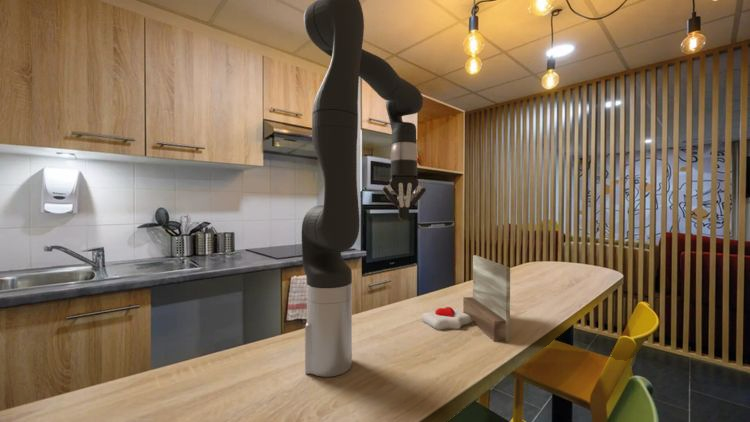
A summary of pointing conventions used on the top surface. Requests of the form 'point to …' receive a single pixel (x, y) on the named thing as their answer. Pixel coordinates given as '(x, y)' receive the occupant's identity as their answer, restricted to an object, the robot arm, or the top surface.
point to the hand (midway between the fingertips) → (403, 220)
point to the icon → (446, 318)
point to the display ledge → (490, 299)
